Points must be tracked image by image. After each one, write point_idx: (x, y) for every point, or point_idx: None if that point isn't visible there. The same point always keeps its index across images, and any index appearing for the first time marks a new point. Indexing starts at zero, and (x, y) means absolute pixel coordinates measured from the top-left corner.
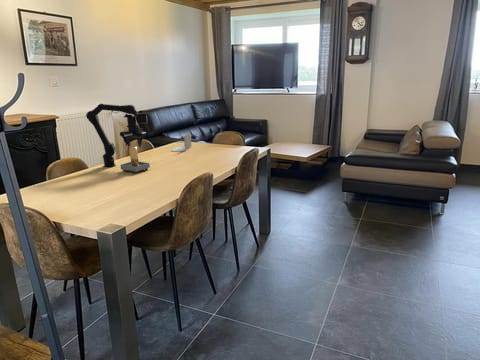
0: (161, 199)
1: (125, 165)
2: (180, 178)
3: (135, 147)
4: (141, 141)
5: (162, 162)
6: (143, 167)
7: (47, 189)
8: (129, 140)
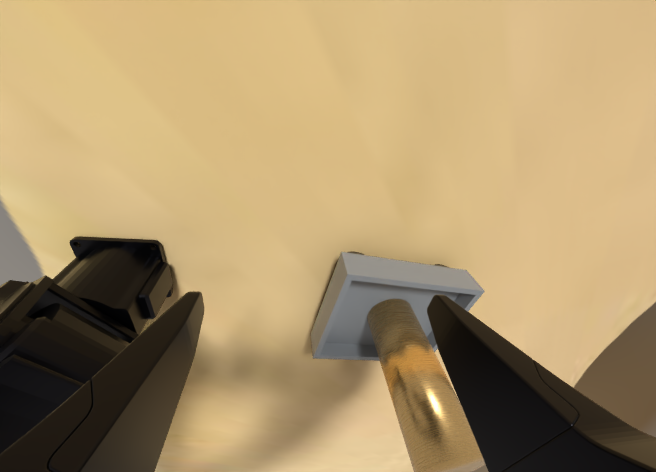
0: None
1: (354, 359)
2: (602, 322)
3: (476, 465)
4: (540, 377)
5: (532, 26)
6: None
7: (223, 465)
8: (131, 397)
